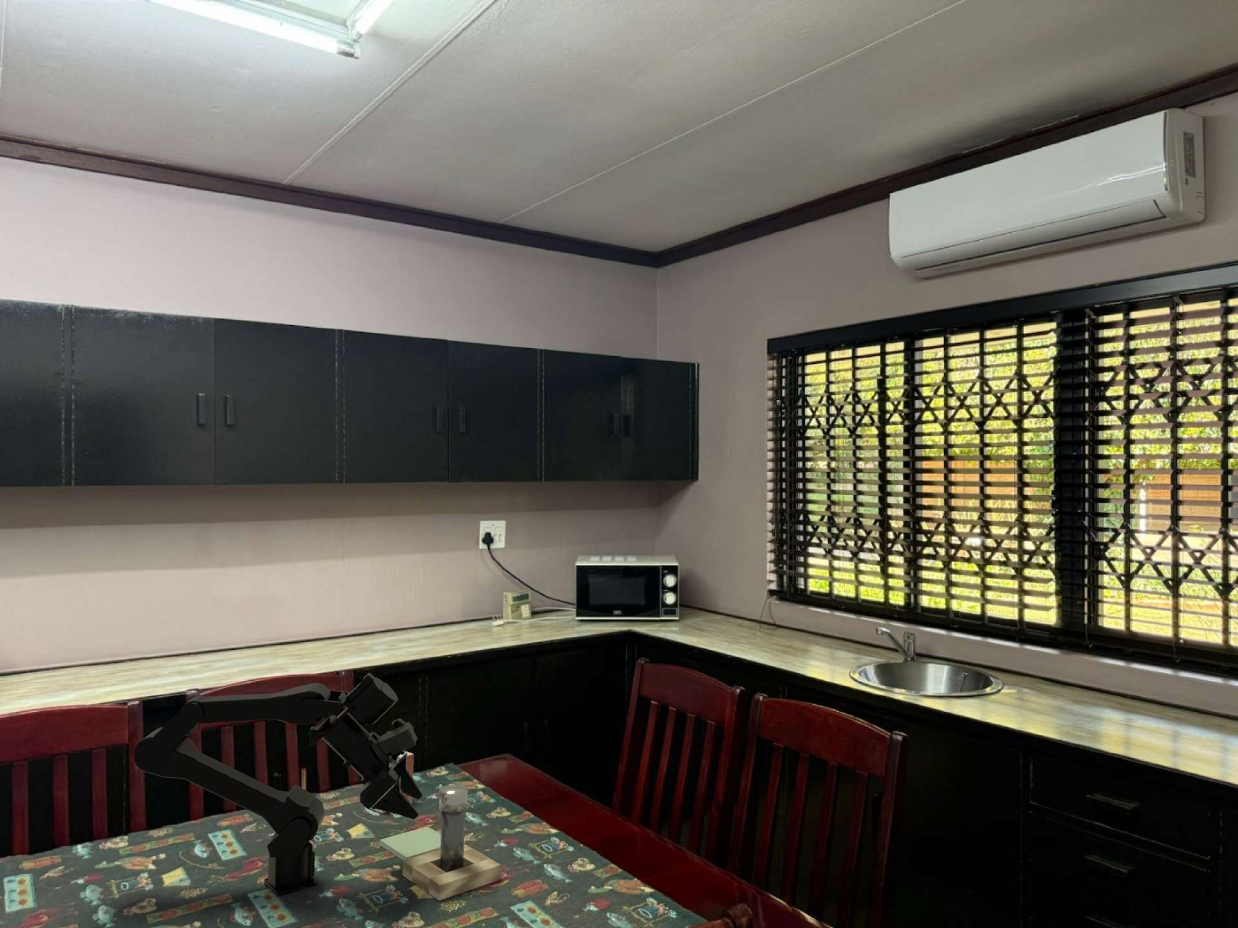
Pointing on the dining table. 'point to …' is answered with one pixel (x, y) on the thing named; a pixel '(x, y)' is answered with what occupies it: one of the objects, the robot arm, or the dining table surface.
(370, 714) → the robot arm
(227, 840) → the dining table surface
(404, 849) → the pad
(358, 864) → the dining table surface
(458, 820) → the dome-ended metal peg
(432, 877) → the socket block
